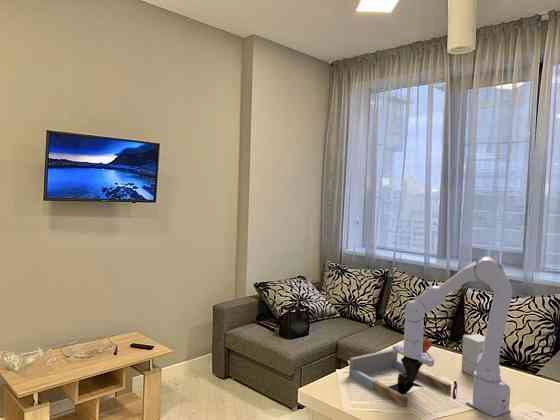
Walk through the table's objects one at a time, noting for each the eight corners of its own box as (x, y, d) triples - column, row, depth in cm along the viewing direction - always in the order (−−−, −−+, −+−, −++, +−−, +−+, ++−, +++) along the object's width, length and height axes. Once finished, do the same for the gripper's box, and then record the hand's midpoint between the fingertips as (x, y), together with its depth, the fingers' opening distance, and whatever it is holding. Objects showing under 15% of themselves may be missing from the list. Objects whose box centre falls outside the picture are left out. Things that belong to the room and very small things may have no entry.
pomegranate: (430, 360, 174) (411, 340, 178) (442, 349, 170) (422, 328, 174) (422, 367, 168) (403, 346, 173) (433, 356, 164) (413, 335, 169)
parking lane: (450, 392, 141) (451, 373, 140) (403, 406, 130) (404, 386, 130) (393, 364, 162) (394, 348, 161) (349, 375, 151) (349, 358, 150)
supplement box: (492, 375, 155) (494, 340, 154) (476, 378, 152) (478, 342, 152) (476, 367, 162) (478, 333, 161) (460, 370, 159) (462, 335, 158)
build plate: (408, 380, 150) (409, 367, 149) (427, 389, 144) (427, 375, 144) (383, 388, 143) (384, 374, 142) (401, 397, 137) (402, 382, 136)
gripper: (441, 343, 137) (438, 386, 137) (403, 330, 149) (401, 370, 149) (426, 347, 133) (424, 392, 133) (389, 333, 145) (387, 374, 145)
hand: (411, 381), depth 141 cm, fingers closed
